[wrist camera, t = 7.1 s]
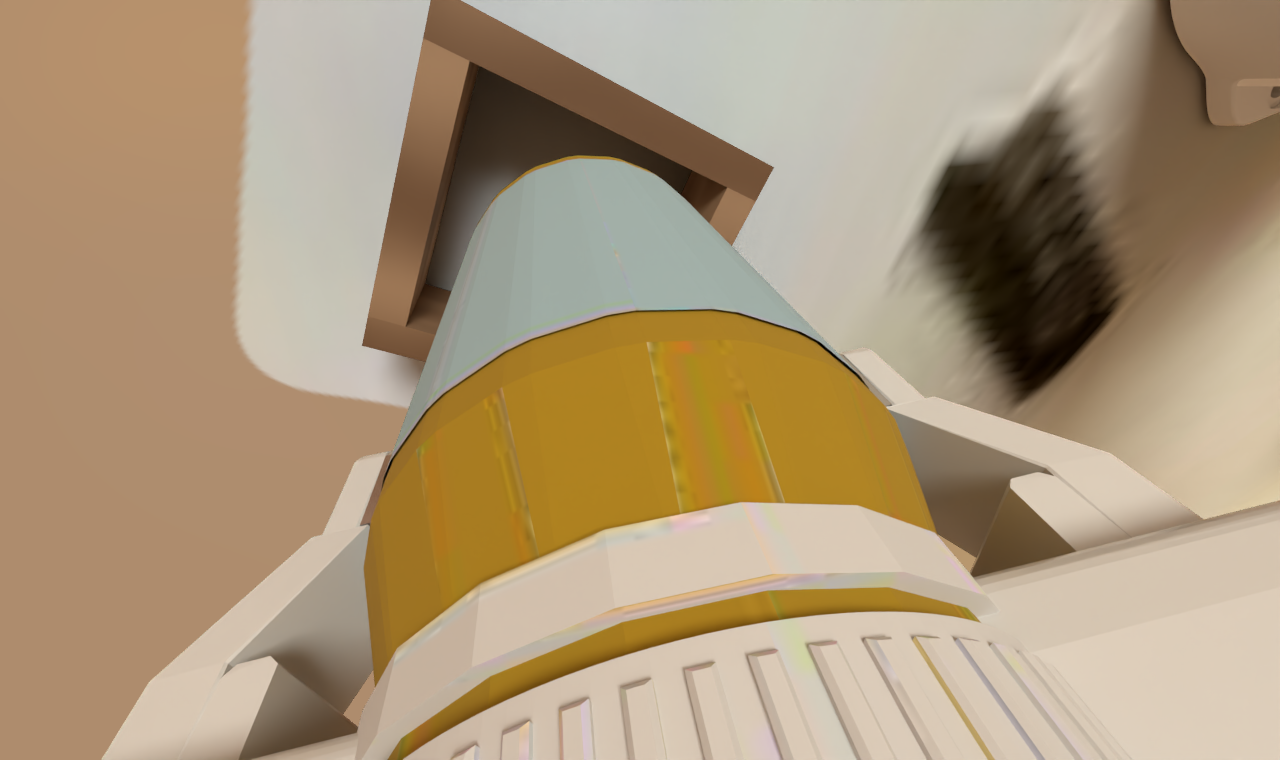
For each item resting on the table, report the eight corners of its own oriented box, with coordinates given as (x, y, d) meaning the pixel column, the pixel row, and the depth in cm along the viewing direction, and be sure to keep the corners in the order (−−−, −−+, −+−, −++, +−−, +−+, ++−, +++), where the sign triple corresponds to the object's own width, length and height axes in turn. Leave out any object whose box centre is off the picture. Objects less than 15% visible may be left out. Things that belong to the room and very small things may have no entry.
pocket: (452, 0, 16) (433, -15, 12) (732, 149, 20) (774, 167, 17) (388, 299, 20) (362, 345, 17) (624, 368, 25) (640, 416, 21)
